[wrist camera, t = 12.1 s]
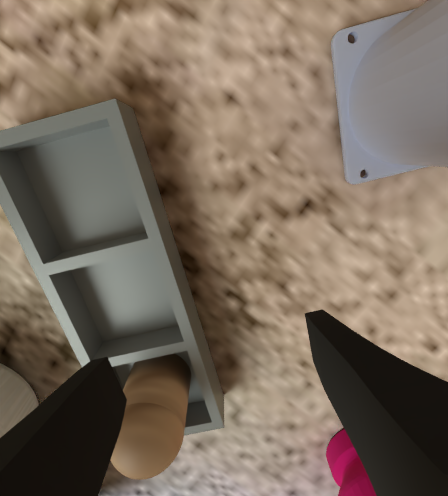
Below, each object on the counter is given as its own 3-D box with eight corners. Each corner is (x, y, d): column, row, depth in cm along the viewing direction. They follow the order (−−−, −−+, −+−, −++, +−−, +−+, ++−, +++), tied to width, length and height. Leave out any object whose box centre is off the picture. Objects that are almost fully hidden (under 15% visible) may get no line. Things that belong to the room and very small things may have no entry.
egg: (176, 342, 20) (155, 430, 14) (200, 388, 21) (192, 486, 15) (120, 362, 20) (76, 455, 14) (147, 405, 22) (118, 507, 15)
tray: (133, 108, 16) (115, 98, 13) (223, 395, 22) (224, 427, 20) (8, 142, 16) (-32, 139, 14) (133, 413, 23) (122, 447, 20)
